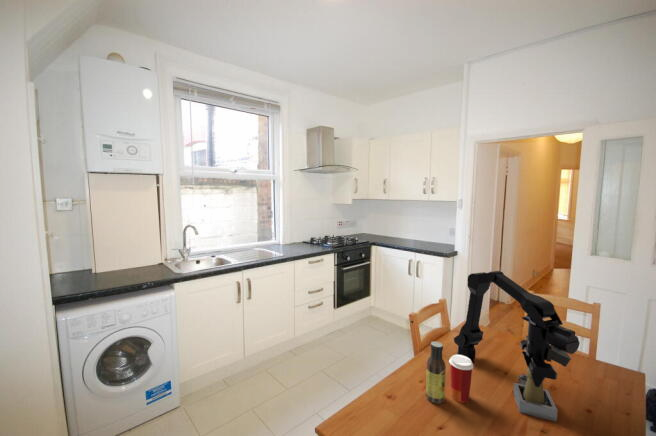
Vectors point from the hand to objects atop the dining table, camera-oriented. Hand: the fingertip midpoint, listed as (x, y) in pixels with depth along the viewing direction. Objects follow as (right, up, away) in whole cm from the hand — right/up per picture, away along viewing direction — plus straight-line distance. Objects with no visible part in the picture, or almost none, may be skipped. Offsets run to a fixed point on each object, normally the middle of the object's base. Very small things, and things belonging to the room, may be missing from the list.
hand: (534, 381), depth 97 cm
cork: (0, -7, +1) cm, 7 cm away
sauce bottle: (-32, -9, +5) cm, 34 cm away
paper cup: (-23, -9, +5) cm, 25 cm away
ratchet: (+2, -9, +5) cm, 11 cm away
